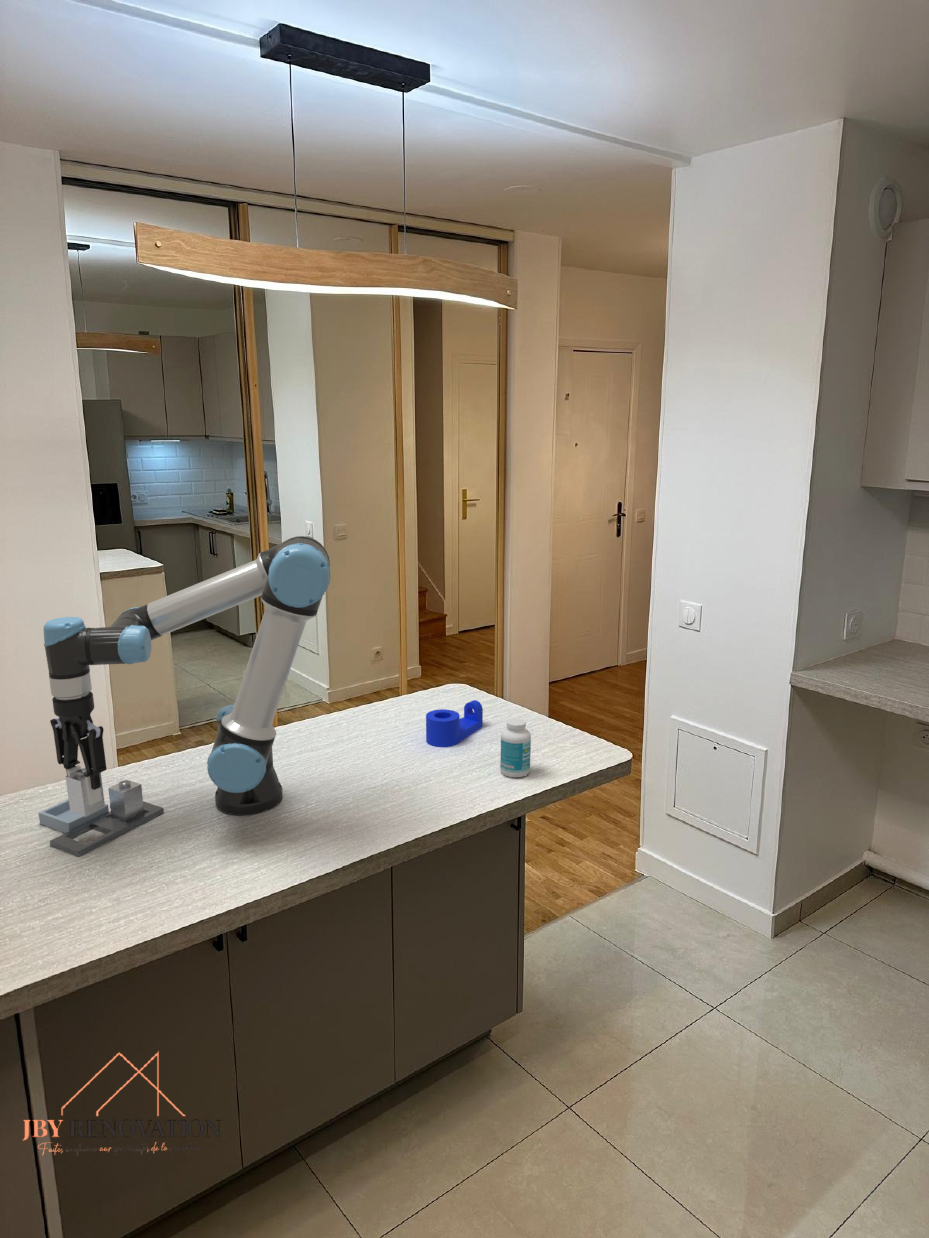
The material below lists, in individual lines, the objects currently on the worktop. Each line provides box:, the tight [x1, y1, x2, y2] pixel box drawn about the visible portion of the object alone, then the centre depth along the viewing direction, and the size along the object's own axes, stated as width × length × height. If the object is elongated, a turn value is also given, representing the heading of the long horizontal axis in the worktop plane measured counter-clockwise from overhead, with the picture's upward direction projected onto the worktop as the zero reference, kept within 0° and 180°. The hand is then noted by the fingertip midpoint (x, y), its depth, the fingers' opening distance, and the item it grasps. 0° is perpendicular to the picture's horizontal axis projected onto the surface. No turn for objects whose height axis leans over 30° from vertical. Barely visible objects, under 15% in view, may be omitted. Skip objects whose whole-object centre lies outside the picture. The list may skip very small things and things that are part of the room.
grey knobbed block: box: [107, 779, 144, 824], centre depth 188 cm, size 5×5×9 cm
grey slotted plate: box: [49, 800, 165, 858], centre depth 185 cm, size 22×9×1 cm, turn 151°
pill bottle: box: [499, 718, 532, 778], centre depth 211 cm, size 8×7×14 cm
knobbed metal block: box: [65, 767, 106, 817], centre depth 178 cm, size 5×5×9 cm
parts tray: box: [38, 799, 110, 834], centre depth 188 cm, size 10×10×3 cm
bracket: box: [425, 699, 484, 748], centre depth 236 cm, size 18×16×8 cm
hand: (86, 799), depth 178 cm, fingers closed on knobbed metal block, 5 cm apart
